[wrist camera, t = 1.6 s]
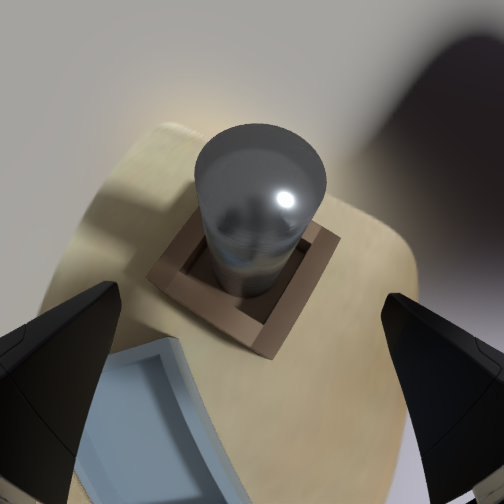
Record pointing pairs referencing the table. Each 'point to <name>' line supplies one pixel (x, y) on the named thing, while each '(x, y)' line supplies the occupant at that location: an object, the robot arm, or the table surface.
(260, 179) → the metallic grey cylinder
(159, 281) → the socket block
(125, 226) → the table surface
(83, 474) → the tray
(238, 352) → the table surface
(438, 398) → the robot arm
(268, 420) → the table surface
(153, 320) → the table surface
